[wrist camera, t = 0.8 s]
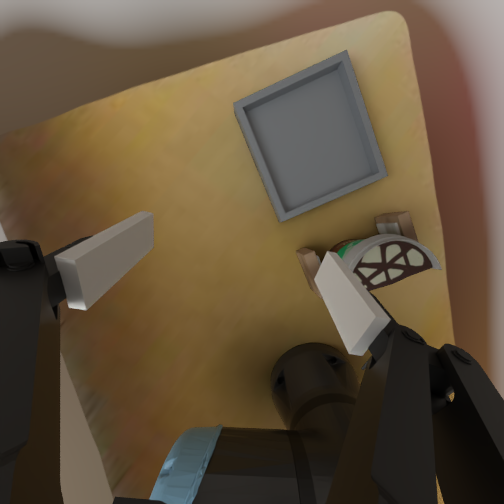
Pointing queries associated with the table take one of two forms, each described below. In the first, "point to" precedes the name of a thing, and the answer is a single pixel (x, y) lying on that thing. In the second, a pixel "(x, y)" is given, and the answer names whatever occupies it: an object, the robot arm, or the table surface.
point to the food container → (385, 259)
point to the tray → (311, 137)
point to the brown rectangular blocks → (386, 225)
